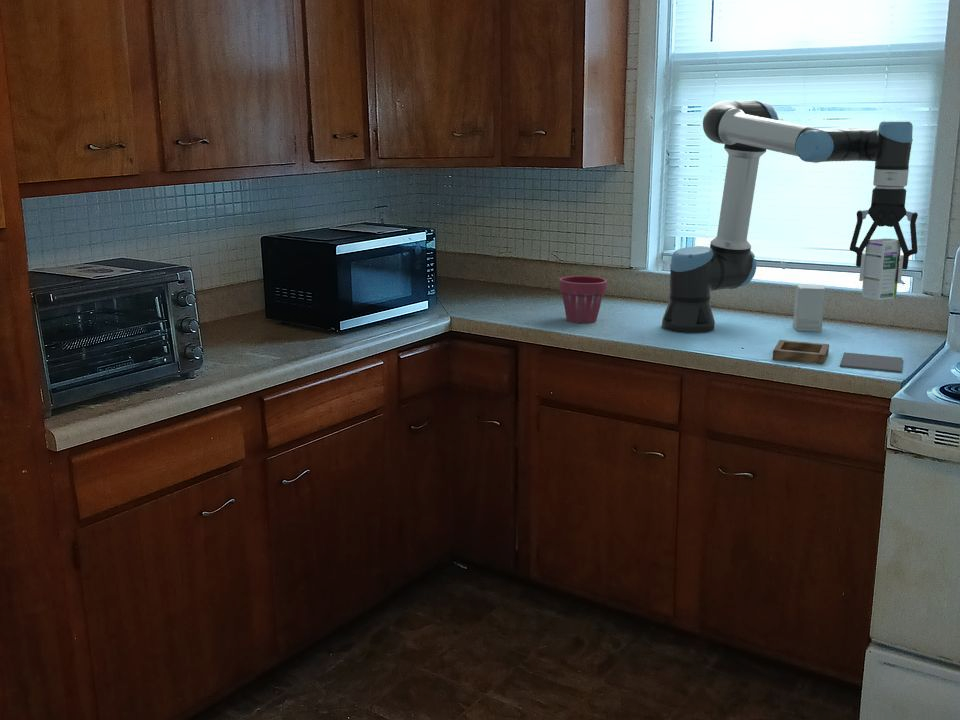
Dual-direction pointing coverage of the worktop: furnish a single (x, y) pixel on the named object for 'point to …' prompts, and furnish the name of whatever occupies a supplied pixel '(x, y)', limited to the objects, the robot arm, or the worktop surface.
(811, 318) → the supplement box
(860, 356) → the charcoal mat
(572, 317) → the plant pot
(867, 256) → the syrup box
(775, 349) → the walnut collar
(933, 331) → the worktop surface
